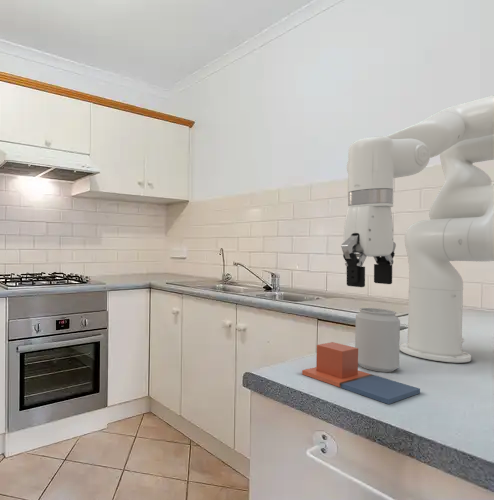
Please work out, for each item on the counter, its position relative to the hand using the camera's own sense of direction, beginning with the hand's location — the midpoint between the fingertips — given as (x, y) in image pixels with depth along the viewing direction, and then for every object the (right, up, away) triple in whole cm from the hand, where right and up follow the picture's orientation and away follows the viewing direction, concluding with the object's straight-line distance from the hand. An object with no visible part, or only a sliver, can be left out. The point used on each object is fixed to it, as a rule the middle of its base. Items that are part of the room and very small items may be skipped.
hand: (369, 284), depth 74 cm
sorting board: (-8, -17, -8) cm, 20 cm away
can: (+2, -17, +1) cm, 18 cm away
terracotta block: (-9, -16, -4) cm, 19 cm away
